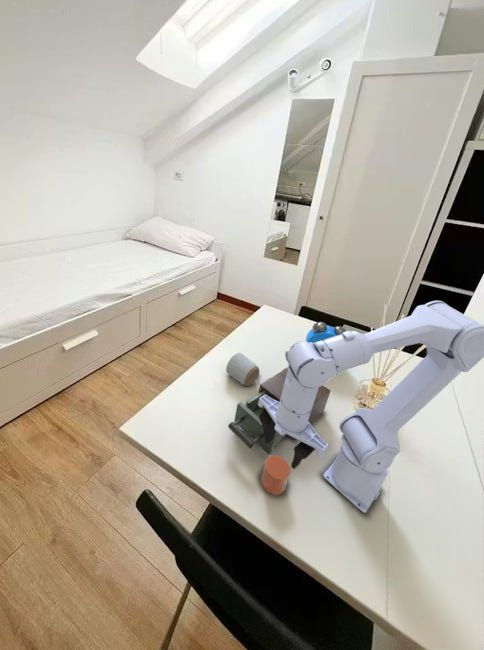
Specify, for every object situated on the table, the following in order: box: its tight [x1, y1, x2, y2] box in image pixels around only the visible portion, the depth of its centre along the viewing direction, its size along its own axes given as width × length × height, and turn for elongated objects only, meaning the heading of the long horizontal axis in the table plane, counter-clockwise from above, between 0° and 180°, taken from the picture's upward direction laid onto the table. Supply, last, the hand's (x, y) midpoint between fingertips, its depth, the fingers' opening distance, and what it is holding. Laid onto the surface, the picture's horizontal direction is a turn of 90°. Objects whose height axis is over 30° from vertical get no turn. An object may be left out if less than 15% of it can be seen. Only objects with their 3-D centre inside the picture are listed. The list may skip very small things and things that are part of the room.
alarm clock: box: [305, 321, 347, 343], centre depth 102 cm, size 13×6×15 cm, turn 71°
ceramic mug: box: [225, 352, 260, 387], centre depth 92 cm, size 11×8×8 cm
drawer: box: [228, 391, 288, 456], centre depth 73 cm, size 19×12×6 cm, turn 131°
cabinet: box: [257, 367, 332, 440], centre depth 81 cm, size 15×13×8 cm
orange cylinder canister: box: [260, 454, 291, 496], centre depth 62 cm, size 5×5×5 cm
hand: (281, 452), depth 59 cm, fingers open, 6 cm apart
